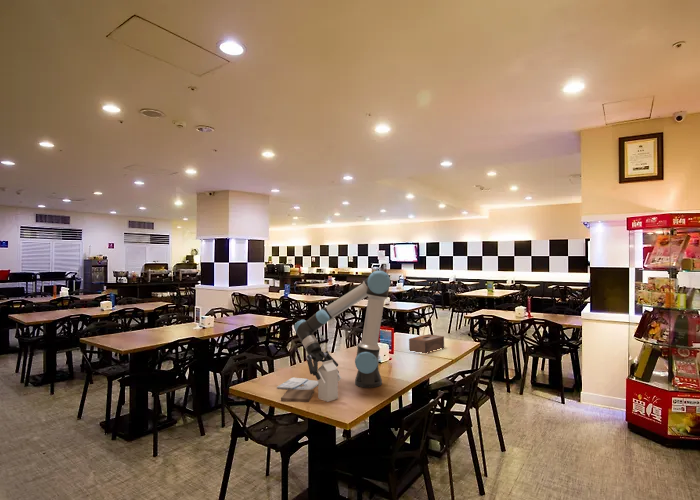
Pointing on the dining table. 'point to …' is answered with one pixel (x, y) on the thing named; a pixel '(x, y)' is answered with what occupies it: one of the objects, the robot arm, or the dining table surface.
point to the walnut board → (297, 395)
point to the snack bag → (298, 384)
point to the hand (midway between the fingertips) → (331, 382)
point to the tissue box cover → (426, 343)
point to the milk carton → (328, 381)
